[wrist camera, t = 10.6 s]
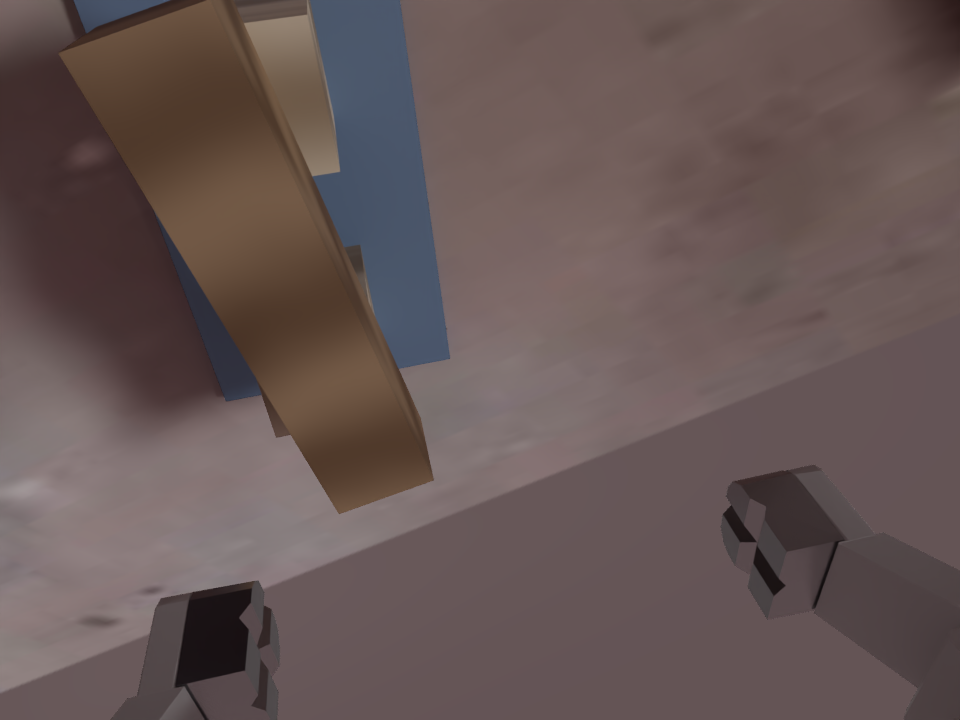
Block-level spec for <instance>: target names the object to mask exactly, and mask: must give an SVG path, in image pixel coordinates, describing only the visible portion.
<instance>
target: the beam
mask: <svg viewBox="0 0 960 720" xmlns="http://www.w3.org/2000/svg"><path fill="white" fill-rule="evenodd" d="M58 54H59V55H60V57H61V59H62V60H63V62H64V64H65V65H66V67H67V69H68V70H69V72H70V73H71V75H72V77H73V78H74V80H75V82H76V83H77V85H78V87H79V88H80V90H81V91H82V93H83V95H84V96H85V98H86V100H87V101H88V103H89V105H90V106H91V108H92V110H93V111H94V113H95V114H96V116H97V118H98V119H99V121H100V123H101V124H102V126H103V128H104V129H105V131H106V133H107V134H108V136H109V137H110V139H111V141H112V142H113V144H114V146H115V147H116V149H117V151H118V152H119V154H120V155H121V157H122V159H123V160H124V162H125V164H126V165H127V167H128V169H129V170H130V172H131V174H132V175H133V177H134V178H135V180H136V182H137V183H138V185H139V187H140V188H141V190H142V192H143V193H144V195H145V196H146V198H147V200H148V201H149V203H150V205H151V206H152V208H153V210H154V211H155V213H156V215H157V216H158V218H159V219H160V221H161V223H162V224H163V226H164V228H165V229H166V231H167V233H168V234H169V236H170V238H171V239H172V241H173V242H174V244H175V246H176V247H177V249H178V251H179V252H180V254H181V256H182V257H183V259H184V260H185V262H186V264H187V265H188V267H189V269H190V270H191V272H192V274H193V275H194V277H195V279H196V280H197V282H198V283H199V285H200V287H201V288H202V290H203V292H204V293H205V295H206V297H207V298H208V300H209V302H210V303H211V305H212V306H213V308H214V310H215V311H216V313H217V315H218V316H219V318H220V320H221V321H222V323H223V324H224V326H225V328H226V329H227V331H228V333H229V334H230V336H231V338H232V339H233V341H234V343H235V344H236V346H237V347H238V349H239V351H240V352H241V354H242V356H243V357H244V359H245V361H246V362H247V364H248V366H249V367H250V369H251V370H252V372H253V374H254V375H255V377H256V379H257V380H258V382H259V384H260V385H261V387H262V388H263V390H264V392H265V393H266V395H267V397H268V398H269V400H270V402H271V403H272V405H273V407H274V408H275V410H276V411H277V413H278V415H279V416H280V418H281V420H282V421H283V423H284V425H285V426H286V428H287V429H288V431H289V433H290V434H291V436H292V438H293V439H294V441H295V443H296V444H297V446H298V448H299V449H300V451H301V452H302V454H303V456H304V457H305V459H306V461H307V462H308V464H309V466H310V467H311V469H312V471H313V472H314V474H315V475H316V477H317V479H318V480H319V482H320V484H321V485H322V487H323V489H324V490H325V492H326V493H327V495H328V497H329V498H330V500H331V502H332V503H333V505H334V507H335V508H336V510H337V512H338V513H339V514H341V513H344V512H346V511H349V510H352V509H355V508H358V507H360V506H363V505H366V504H369V503H371V502H374V501H377V500H380V499H383V498H385V497H388V496H391V495H394V494H397V493H399V492H402V491H405V490H408V489H411V488H413V487H416V486H419V485H422V484H425V483H427V482H430V481H433V480H434V479H433V474H432V470H431V465H430V460H429V455H428V451H427V446H426V441H425V436H424V432H423V427H422V422H421V418H420V416H419V413H418V411H417V409H416V407H415V405H414V402H413V400H412V398H411V396H410V393H409V391H408V389H407V387H406V384H405V382H404V380H403V378H402V375H401V373H400V371H399V369H398V367H397V364H396V362H395V360H394V358H393V355H392V353H391V351H390V349H389V346H388V344H387V342H386V340H385V337H384V335H383V333H382V331H381V329H380V326H379V324H378V322H377V320H376V317H375V315H374V313H373V311H372V308H371V306H370V304H369V302H368V300H367V297H366V295H365V293H364V291H363V288H362V286H361V284H360V282H359V279H358V277H357V275H356V273H355V270H354V268H353V266H352V264H351V262H350V259H349V257H348V255H347V253H346V250H345V248H344V246H343V244H342V241H341V239H340V237H339V235H338V233H337V230H336V228H335V226H334V224H333V221H332V219H331V217H330V215H329V212H328V210H327V208H326V206H325V203H324V201H323V199H322V197H321V195H320V192H319V190H318V188H317V186H316V183H315V181H314V179H313V177H312V174H311V172H310V170H309V168H308V166H307V163H306V161H305V159H304V157H303V154H302V152H301V150H300V148H299V145H298V143H297V141H296V139H295V136H294V134H293V132H292V130H291V128H290V125H289V123H288V121H287V119H286V116H285V114H284V112H283V110H282V107H281V105H280V103H279V101H278V98H277V96H276V94H275V92H274V90H273V87H272V85H271V83H270V81H269V78H268V76H267V74H266V72H265V69H264V67H263V65H262V63H261V61H260V58H259V56H258V54H257V52H256V49H255V47H254V45H253V43H252V40H251V38H250V36H249V34H248V31H247V29H246V27H245V25H244V23H243V20H242V18H241V16H240V14H239V11H238V9H237V7H236V5H235V2H234V0H170V1H167V2H164V3H162V4H159V5H156V6H153V7H150V8H148V9H145V10H142V11H139V12H136V13H133V14H131V15H128V16H125V17H122V18H119V19H117V20H114V21H111V22H108V23H105V24H103V25H100V26H97V27H95V28H94V29H93V30H91V31H90V32H88V33H87V34H85V35H84V36H82V37H81V38H79V39H78V40H77V41H75V42H74V43H72V44H71V45H69V46H68V47H66V48H65V49H63V50H62V51H61V52H59V53H58Z"/></svg>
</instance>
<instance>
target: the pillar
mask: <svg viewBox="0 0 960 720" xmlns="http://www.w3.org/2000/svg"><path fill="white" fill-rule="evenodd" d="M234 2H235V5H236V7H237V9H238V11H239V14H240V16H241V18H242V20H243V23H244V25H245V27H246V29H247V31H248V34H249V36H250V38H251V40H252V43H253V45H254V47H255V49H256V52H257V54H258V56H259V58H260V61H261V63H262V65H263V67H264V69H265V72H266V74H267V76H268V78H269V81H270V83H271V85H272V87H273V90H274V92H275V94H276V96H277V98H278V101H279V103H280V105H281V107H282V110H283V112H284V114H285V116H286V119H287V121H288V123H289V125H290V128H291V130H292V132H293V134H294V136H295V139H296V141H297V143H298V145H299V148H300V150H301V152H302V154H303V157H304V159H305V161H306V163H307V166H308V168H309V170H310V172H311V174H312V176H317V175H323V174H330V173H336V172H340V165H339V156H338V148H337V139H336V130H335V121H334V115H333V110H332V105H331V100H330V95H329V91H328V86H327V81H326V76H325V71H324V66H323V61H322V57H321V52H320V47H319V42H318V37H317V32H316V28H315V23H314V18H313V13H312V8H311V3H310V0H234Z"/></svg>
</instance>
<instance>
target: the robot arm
mask: <svg viewBox="0 0 960 720" xmlns="http://www.w3.org/2000/svg"><path fill="white" fill-rule="evenodd" d="M726 497H727V499H728V501H729V502H730V504H731V506H730V507H729V508H728V509H727V510H726V511H725V512H724V513H723V516H722V523H721V531H722V536H723V542H724V545H725V547H726V550H727V552H728V555H729V556H730V558H731V560H732V562H733V563H734V565H735V566H736V567H738V568H739V569H741V570H743V571H745V572H746V573H748V574H750V576H749V582H748V589H749V590H750V592H751V594H752V595H753V597H754V599H755V600H756V602H757V603H758V605H759V607H760V608H761V610H762V612H763V613H764V615H765V617H766V618H767V620H768V619H774V618H778V617H783V616H788V615H794V614H799V613H804V612H809V611H814V610H815V611H814V613H815V614H816V615H817V616H819V617H820V618H822V619H823V620H824V621H826V622H827V623H828V624H830V625H831V626H833V627H834V628H835V629H837V630H838V631H840V632H841V633H842V634H844V635H845V636H846V637H848V638H849V639H851V640H852V641H853V642H855V643H856V644H858V645H859V646H860V647H862V648H863V649H865V650H866V651H867V652H869V653H870V654H871V655H873V656H874V657H875V658H877V659H878V660H880V661H881V662H882V663H884V664H885V665H887V666H888V667H889V668H891V669H892V670H894V671H895V672H896V673H898V674H899V675H900V676H902V677H903V678H905V679H906V680H907V681H909V682H910V683H911V684H913V685H914V686H916V687H917V688H918V689H917V691H916V693H915V694H914V696H913V698H912V700H911V702H910V704H909V705H908V707H907V709H906V712H905V715H904V720H960V570H958V569H956V568H954V567H952V566H950V565H948V564H946V563H944V562H942V561H940V560H938V559H936V558H934V557H932V556H930V555H928V554H926V553H924V552H922V551H920V550H918V549H916V548H914V547H912V546H910V545H908V544H906V543H904V542H902V541H900V540H898V539H896V538H894V537H892V536H890V535H888V534H885V533H879V534H875V532H874V531H873V530H872V529H871V528H870V527H869V525H868V524H867V523H866V522H865V521H864V519H863V518H862V517H861V516H860V515H859V513H858V512H857V511H856V510H855V509H854V508H853V506H852V505H851V504H850V503H849V502H848V500H847V499H846V498H845V497H844V496H843V494H842V493H841V492H840V491H839V490H838V489H837V487H836V486H835V485H834V484H833V483H832V482H831V481H830V479H829V478H828V477H827V475H826V474H825V473H824V472H823V471H822V470H821V468H819V467H817V466H815V465H810V466H805V467H800V468H796V469H791V470H786V471H778V472H774V473H769V474H765V475H760V476H755V477H751V478H747V479H742V480H738V481H733V482H732V483H731V484H730V485H729V486H728V490H727V495H726ZM279 665H280V645H279V634H278V628H277V624H276V620H275V617H274V614H273V612H272V610H271V609H270V608H268V607H266V606H264V591H263V589H262V587H261V585H260V583H259V581H252V582H246V583H241V584H235V585H230V586H224V587H218V588H213V589H207V590H202V591H196V592H191V593H186V594H181V595H176V596H171V597H166V598H161V599H160V601H159V603H158V605H157V606H156V608H155V612H154V617H153V621H152V626H151V631H150V636H149V641H148V646H147V650H146V656H145V660H144V665H143V670H142V674H141V680H140V684H139V689H138V694H137V696H135V697H132V698H127V700H126V701H125V702H124V703H123V704H122V706H121V707H120V708H119V709H118V711H117V712H116V713H115V714H114V716H113V717H112V718H111V720H277V715H278V690H277V688H276V686H275V683H274V681H273V679H272V676H273V675H274V673H275V671H276V670H277V669H278V667H279Z"/></svg>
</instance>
